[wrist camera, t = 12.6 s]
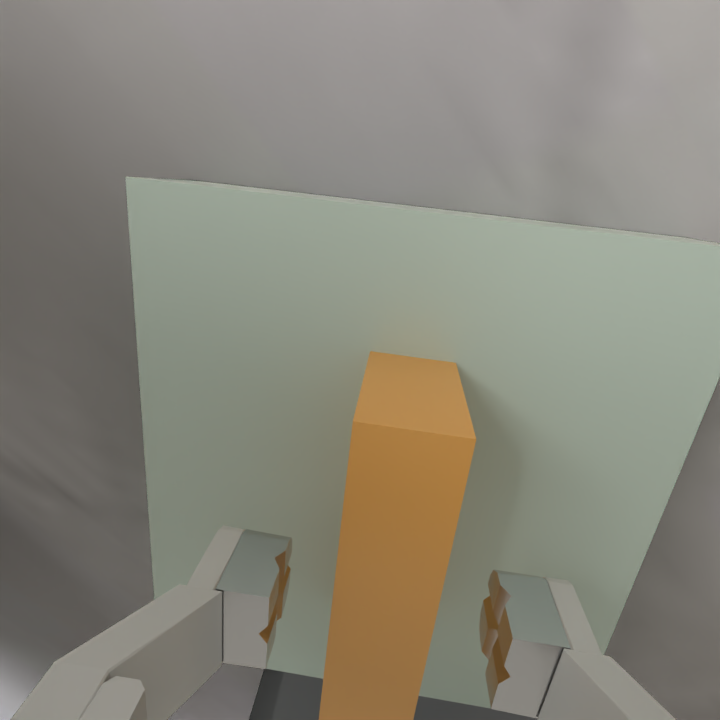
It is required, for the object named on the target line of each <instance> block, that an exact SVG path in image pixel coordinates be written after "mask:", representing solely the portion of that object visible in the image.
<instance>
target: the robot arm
mask: <svg viewBox="0 0 720 720" xmlns="http://www.w3.org/2000/svg"><path fill="white" fill-rule="evenodd" d="M291 553H292V538H291V537H286V536H281V535H275V534H270V533H265V532H259V531H254V530H248V529H246V530H245V529H240V528H235V527H229V526H224V525H223V526H222V527H221V528H220V529H218V531H217V532H216V534H215V536H214V538H213V539H212V541H211V543H210V545H209V546H208V548H207V550H206V552H205V553H204V555H203V557H202V559H201V560H200V562H199V564H198V566H197V568H196V569H195V571H194V573H193V575H192V576H191V578H190V580H189V582H188V583H187V585H181V584H179V585H177V586H176V587H174V588H172V589H171V590H169V591H168V592H166V593H164V594H163V595H161V596H159V597H158V598H156V599H155V600H153V601H151V602H150V603H148V604H147V605H145V606H143V607H142V608H140V609H139V610H137V611H135V612H134V613H132V614H130V615H129V616H127V617H126V618H124V619H122V620H121V621H119V622H118V623H116V624H114V625H113V626H111V627H110V628H108V629H106V630H105V631H103V632H101V633H100V634H98V635H97V636H95V637H93V638H92V639H90V640H89V641H87V642H85V643H84V644H82V645H80V646H79V647H77V648H76V649H74V650H72V651H71V652H69V653H68V654H66V655H64V656H63V657H61V658H60V659H58V660H56V661H55V662H54V663H53V664H52V666H51V667H50V668H49V670H48V671H47V672H46V673H45V675H44V676H43V677H42V679H41V680H40V681H39V683H38V684H37V685H36V687H35V688H34V689H33V691H32V692H31V693H30V695H29V696H28V697H27V699H26V700H25V701H24V703H23V704H22V705H21V706H20V708H19V709H18V710H17V712H16V713H15V714H14V716H13V717H12V718H11V720H167V719H168V718H169V717H170V716H171V715H172V714H173V713H174V712H175V711H176V710H177V709H178V708H179V707H180V706H181V705H182V704H183V703H184V702H186V701H187V700H188V699H189V698H190V697H191V696H192V695H193V694H194V693H195V692H196V691H197V690H198V689H199V688H200V687H201V686H202V685H203V684H204V683H205V682H206V681H207V680H208V679H209V678H210V677H211V676H212V675H213V674H214V673H215V672H216V671H217V670H218V669H219V668H220V667H221V666H222V663H226V664H233V665H240V666H247V667H254V668H261V669H266V667H267V663H268V660H269V657H270V654H271V650H272V647H273V644H274V640H275V637H276V622H277V620H279V619H280V618H281V617H282V614H283V610H284V607H285V603H286V598H287V593H288V589H289V581H290V572H291V569H290V567H289V566H288V563H289V560H290V557H291ZM488 588H489V593H490V596H489V597H487V598H486V599H484V600H483V604H482V608H481V612H480V624H479V632H480V643H481V650H482V652H483V654H484V655H485V656H486V657H487V659H488V660H489V661H488V665H487V668H486V672H485V676H486V682H487V688H488V694H489V700H490V706H491V709H494V710H499V711H503V712H508V713H513V714H518V715H523V716H528V717H532V718H537V720H676V719H675V718H674V717H673V716H672V715H671V714H670V713H669V712H668V711H667V710H666V709H665V708H664V707H663V706H662V705H661V704H660V703H658V702H657V701H656V700H655V699H654V698H653V697H652V696H651V695H650V694H649V693H648V692H647V691H646V690H645V689H644V688H643V687H642V686H641V685H640V684H639V683H638V682H637V681H636V680H635V679H633V678H632V677H631V676H630V675H629V674H628V673H627V672H626V671H625V670H624V669H623V668H622V667H621V666H620V665H619V664H618V663H617V662H616V661H615V660H614V659H613V658H612V657H610V656H605V655H602V653H601V650H600V648H599V646H598V643H597V641H596V639H595V636H594V634H593V631H592V629H591V627H590V624H589V622H588V620H587V617H586V615H585V613H584V610H583V608H582V606H581V603H580V601H579V598H578V596H577V594H576V591H575V589H574V587H573V584H572V583H571V582H570V581H569V580H563V579H556V578H549V577H540V576H534V575H527V574H520V573H514V572H507V571H500V570H493V571H492V573H491V574H490V578H489V581H488Z"/></svg>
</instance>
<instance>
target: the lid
mask: <svg viewBox="0 0 720 720" xmlns="http://www.w3.org/2000/svg"><path fill="white" fill-rule="evenodd" d="M125 180H126V195H127V209H128V224H129V239H130V253H131V268H132V282H133V297H134V312H135V326H136V341H137V356H138V370H139V385H140V399H141V414H142V429H143V443H144V458H145V473H146V487H147V502H148V516H149V531H150V546H151V560H152V575H153V589H154V600H155V599H156V598H158V597H159V596H161V595H163V594H164V593H166V592H168V591H169V590H171V589H172V588H174V587H176V586H177V585H179V584H181V585H187V583H188V582H189V580H190V578H191V576H192V575H193V573H194V571H195V569H196V568H197V566H198V564H199V562H200V560H201V559H202V557H203V555H204V553H205V552H206V550H207V548H208V546H209V545H210V543H211V541H212V539H213V538H214V536H215V534H216V532H217V531H218V529H220V528H221V527H222V526H223V525H224V526H229V527H235V528H240V529H245V530H246V529H248V530H254V531H259V532H265V533H270V534H275V535H281V536H286V537H291V538H292V553H291V557H290V560H289V563H288V566H289V567H290V569H291V572H290V581H289V589H288V593H287V598H286V603H285V607H284V610H283V614H282V617H281V618H280V619H279V620H277V622H276V637H275V640H274V644H273V647H272V650H271V654H270V657H269V660H268V663H267V667H266V669H271V670H276V671H282V672H288V673H293V674H299V675H305V676H310V677H316V678H322V679H323V686H322V694H321V703H320V712H319V720H413V719H414V714H415V710H416V705H417V701H418V696H423V697H429V698H434V699H440V700H446V701H451V702H457V703H463V704H468V705H474V706H479V707H485V708H491V706H490V700H489V694H488V688H487V682H486V676H485V672H486V668H487V665H488V661H489V660H488V659H487V657H486V656H485V655H484V654H483V652H482V650H481V643H480V632H479V624H480V612H481V608H482V604H483V600H484V599H486V598H487V597H489V596H490V593H489V588H488V581H489V578H490V574H491V573H492V571H493V570H500V571H507V572H514V573H520V574H527V575H534V576H540V577H549V578H556V579H563V580H569V581H570V582H571V583H572V584H573V587H574V589H575V591H576V594H577V596H578V598H579V601H580V603H581V606H582V608H583V610H584V613H585V615H586V617H587V620H588V622H589V624H590V627H591V629H592V631H593V634H594V636H595V639H596V641H597V643H598V646H599V648H600V650H601V653H602V655H604V654H605V651H606V649H607V646H608V644H609V642H610V639H611V637H612V634H613V632H614V630H615V627H616V625H617V622H618V620H619V618H620V615H621V613H622V610H623V608H624V606H625V603H626V601H627V598H628V596H629V594H630V591H631V589H632V586H633V584H634V582H635V579H636V577H637V574H638V572H639V570H640V567H641V565H642V562H643V560H644V558H645V555H646V553H647V550H648V548H649V546H650V543H651V541H652V538H653V536H654V534H655V531H656V529H657V526H658V524H659V522H660V519H661V517H662V514H663V512H664V510H665V507H666V505H667V502H668V500H669V498H670V495H671V493H672V490H673V488H674V486H675V483H676V481H677V478H678V476H679V474H680V471H681V469H682V466H683V464H684V462H685V459H686V457H687V454H688V452H689V450H690V447H691V445H692V442H693V440H694V438H695V435H696V433H697V430H698V428H699V426H700V423H701V421H702V418H703V416H704V414H705V411H706V409H707V406H708V404H709V402H710V399H711V397H712V394H713V392H714V390H715V387H716V385H717V382H718V380H719V378H720V243H714V242H708V241H702V240H697V239H691V238H684V237H675V236H667V235H658V234H650V233H641V232H632V231H624V230H615V229H607V228H598V227H590V226H581V225H572V224H564V223H555V222H547V221H538V220H529V219H521V218H512V217H504V216H495V215H487V214H478V213H469V212H461V211H452V210H444V209H435V208H427V207H418V206H409V205H401V204H392V203H384V202H375V201H366V200H358V199H349V198H341V197H332V196H324V195H315V194H306V193H298V192H289V191H281V190H272V189H264V188H255V187H246V186H238V185H229V184H221V183H212V182H203V181H195V180H184V179H163V178H141V177H125Z"/></svg>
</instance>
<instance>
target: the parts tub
mask: <svg viewBox="0 0 720 720" xmlns="http://www.w3.org/2000/svg"><path fill="white" fill-rule="evenodd" d="M322 686H323V679H322V678H316V677H310V676H305V675H299V674H293V673H288V672H282V671H276V670H271V669H264V672H263V675H262V679H261V682H260V685H259V689H258V692H257V695H256V699H255V702H254V705H253V708H252V712H251V715H250V718H249V720H319V712H320V703H321V694H322ZM413 720H537V718H532V717H528V716H523V715H518V714H513V713H508V712H503V711H499V710H494V709H491V708H485V707H479V706H474V705H468V704H463V703H457V702H451V701H446V700H440V699H434V698H429V697H423V696H418V701H417V705H416V710H415V714H414V719H413Z"/></svg>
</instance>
